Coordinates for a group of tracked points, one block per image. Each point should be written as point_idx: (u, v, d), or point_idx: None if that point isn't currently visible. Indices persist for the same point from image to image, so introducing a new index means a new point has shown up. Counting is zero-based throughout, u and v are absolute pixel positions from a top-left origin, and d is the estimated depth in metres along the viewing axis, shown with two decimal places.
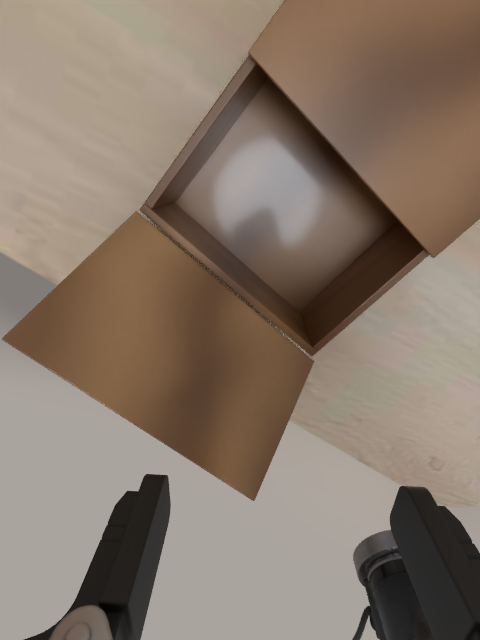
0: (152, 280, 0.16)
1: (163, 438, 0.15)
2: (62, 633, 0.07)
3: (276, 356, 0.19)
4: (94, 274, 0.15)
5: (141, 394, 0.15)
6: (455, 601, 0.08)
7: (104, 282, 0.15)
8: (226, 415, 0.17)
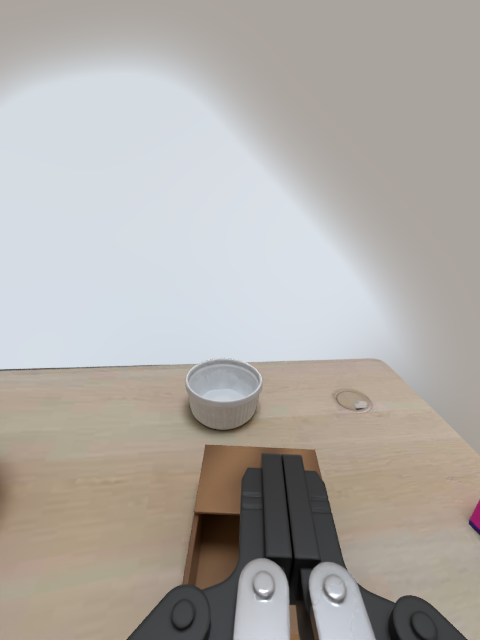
0: None
1: None
2: (247, 580, 0.08)
3: None
4: None
5: None
6: (291, 545, 0.09)
7: None
8: None
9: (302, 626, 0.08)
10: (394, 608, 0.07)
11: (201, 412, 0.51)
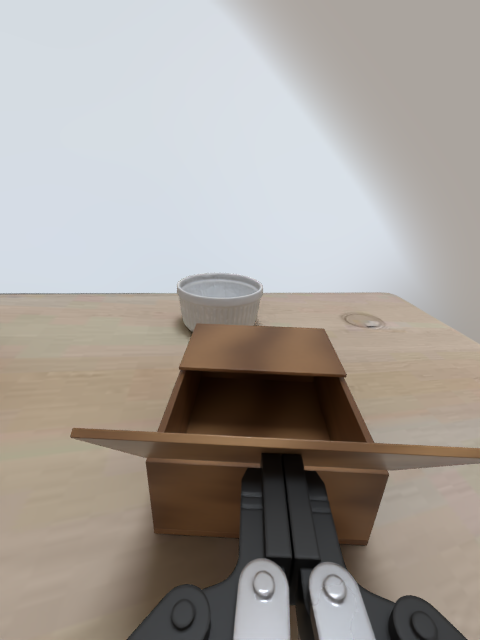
0: None
1: (322, 440, 0.10)
2: (247, 580, 0.08)
3: None
4: None
5: None
6: (291, 545, 0.09)
7: None
8: None
9: (302, 626, 0.08)
10: (394, 608, 0.07)
11: (194, 316, 0.45)
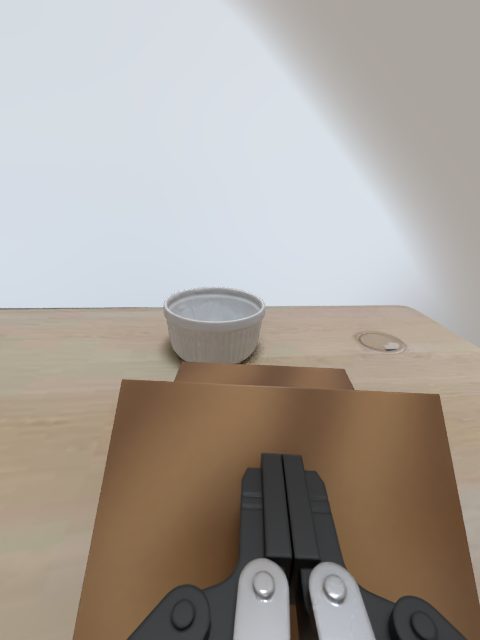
0: None
1: None
2: (247, 580, 0.08)
3: None
4: None
5: None
6: (291, 545, 0.09)
7: None
8: None
9: (302, 626, 0.08)
10: (394, 608, 0.07)
11: (183, 342, 0.38)
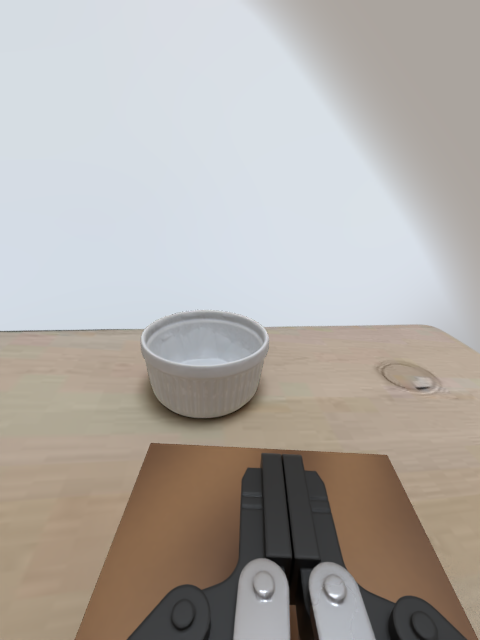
0: None
1: None
2: (247, 580, 0.08)
3: None
4: None
5: None
6: (291, 545, 0.09)
7: None
8: None
9: (302, 626, 0.08)
10: (394, 608, 0.07)
11: (164, 388, 0.29)
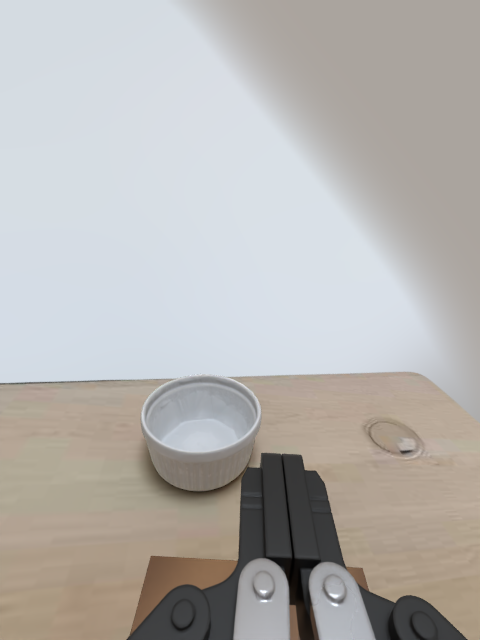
0: None
1: None
2: (247, 580, 0.08)
3: None
4: None
5: None
6: (291, 545, 0.09)
7: None
8: None
9: (302, 626, 0.08)
10: (394, 608, 0.07)
11: (163, 466, 0.32)
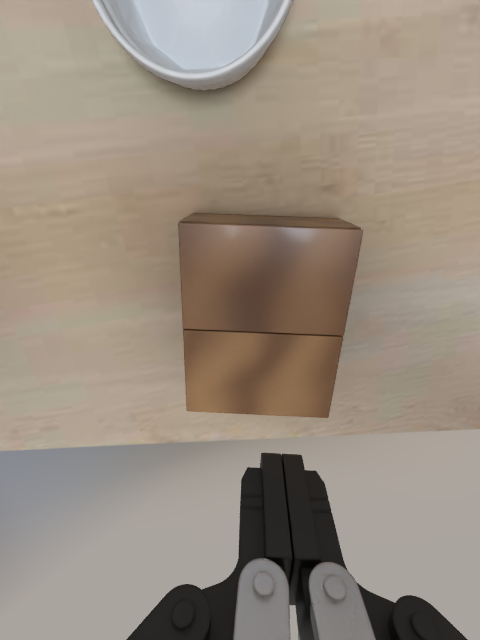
0: None
1: None
2: (247, 580, 0.08)
3: None
4: None
5: None
6: (291, 545, 0.09)
7: None
8: None
9: (302, 626, 0.08)
10: (394, 608, 0.07)
11: None
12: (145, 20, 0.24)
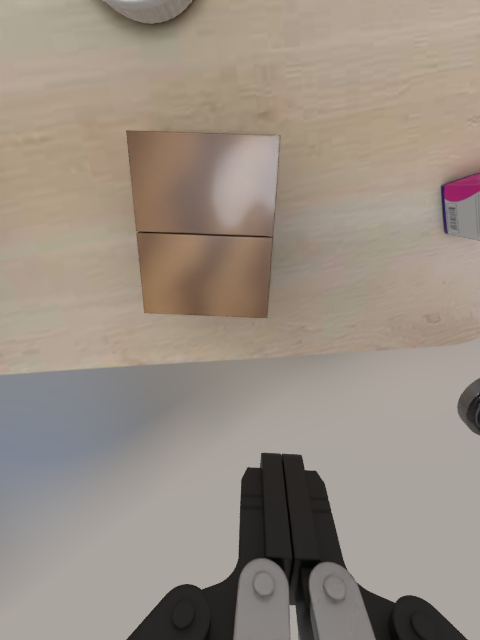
0: None
1: None
2: (247, 580, 0.08)
3: None
4: None
5: None
6: (291, 545, 0.09)
7: None
8: None
9: (302, 626, 0.08)
10: (394, 608, 0.07)
11: None
12: None
